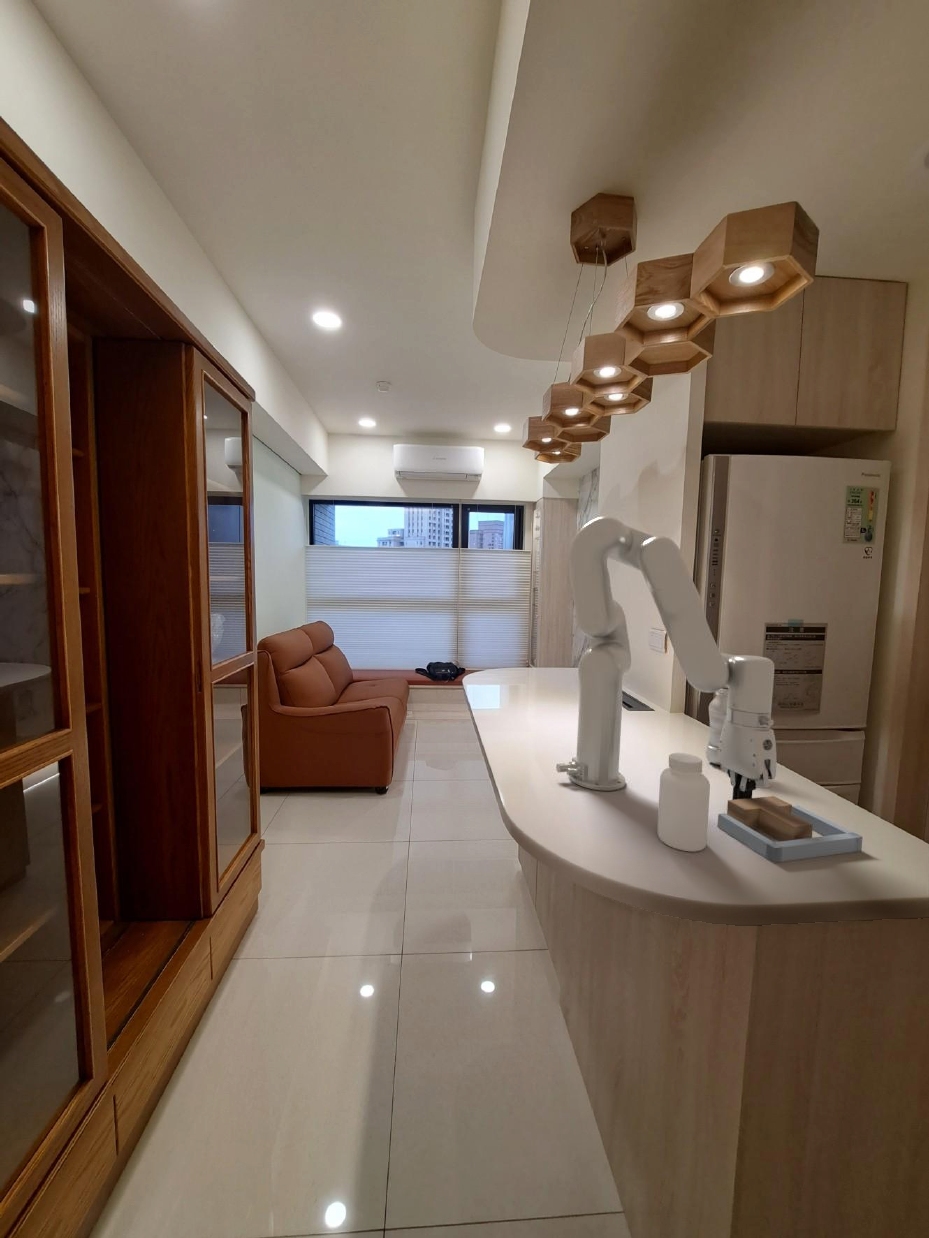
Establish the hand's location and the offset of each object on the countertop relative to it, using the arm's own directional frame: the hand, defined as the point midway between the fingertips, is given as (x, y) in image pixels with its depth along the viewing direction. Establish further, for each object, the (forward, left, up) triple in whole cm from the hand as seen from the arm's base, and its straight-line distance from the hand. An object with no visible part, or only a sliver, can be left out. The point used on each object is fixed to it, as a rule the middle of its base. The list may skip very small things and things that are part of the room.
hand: (741, 807), depth 95 cm
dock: (0, -10, -1) cm, 10 cm away
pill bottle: (-20, -7, -1) cm, 21 cm away
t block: (0, -8, -1) cm, 8 cm away
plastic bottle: (+17, +24, -1) cm, 29 cm away
